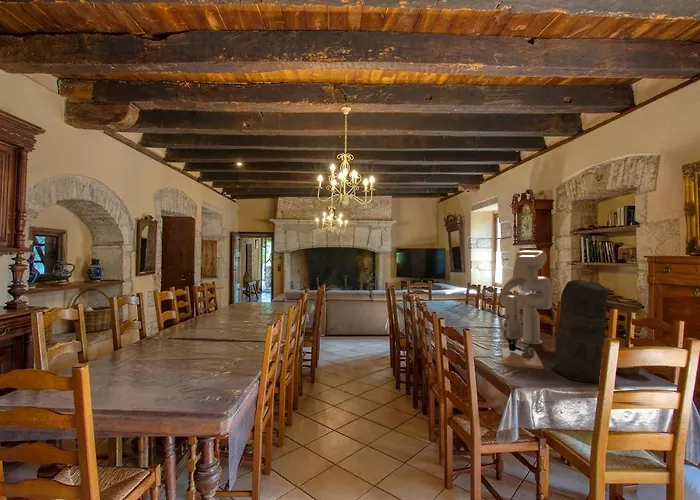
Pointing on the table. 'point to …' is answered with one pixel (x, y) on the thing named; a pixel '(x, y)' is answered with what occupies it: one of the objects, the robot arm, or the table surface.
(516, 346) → the swing bar
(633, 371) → the bread
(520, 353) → the door and jamb board
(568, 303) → the stone sculpture
